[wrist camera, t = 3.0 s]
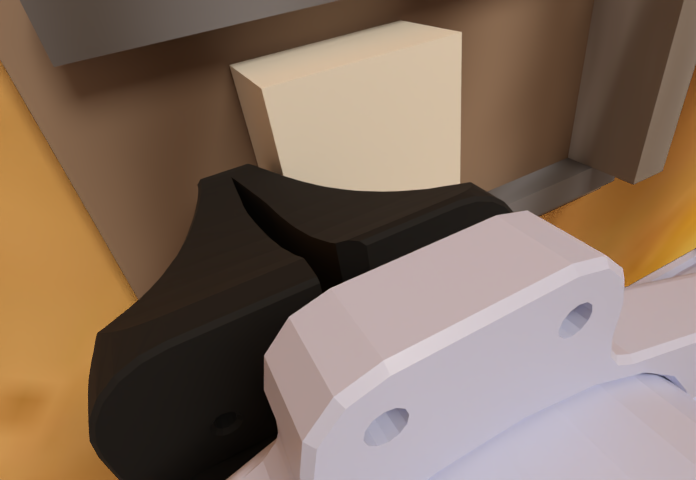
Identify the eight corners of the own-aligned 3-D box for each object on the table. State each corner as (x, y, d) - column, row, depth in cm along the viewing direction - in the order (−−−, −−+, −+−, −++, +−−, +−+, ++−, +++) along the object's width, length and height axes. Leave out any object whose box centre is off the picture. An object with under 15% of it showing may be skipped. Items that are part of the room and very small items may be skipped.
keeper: (400, 20, 12) (461, 32, 10) (411, 201, 16) (459, 237, 14) (229, 64, 11) (261, 88, 9) (283, 253, 15) (314, 301, 12)
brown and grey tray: (657, -175, 14) (804, -211, 11) (586, 181, 22) (662, 215, 19) (-67, -76, 8) (-149, -94, 5) (180, 363, 16) (201, 452, 13)
